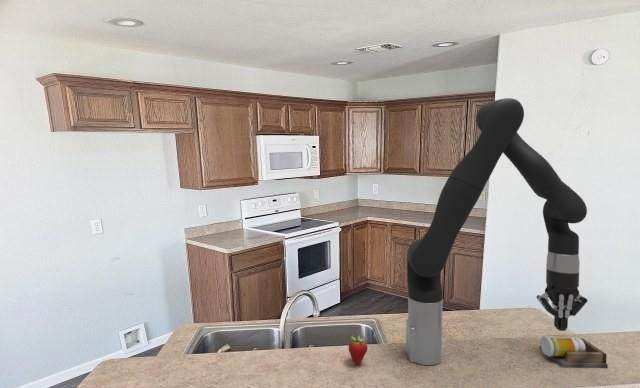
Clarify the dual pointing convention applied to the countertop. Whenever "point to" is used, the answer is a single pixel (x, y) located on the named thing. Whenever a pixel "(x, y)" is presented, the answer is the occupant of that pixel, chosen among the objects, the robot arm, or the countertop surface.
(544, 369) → the countertop surface
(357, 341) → the fruit
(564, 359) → the u rest
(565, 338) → the supplement bottle
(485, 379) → the countertop surface
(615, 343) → the countertop surface
